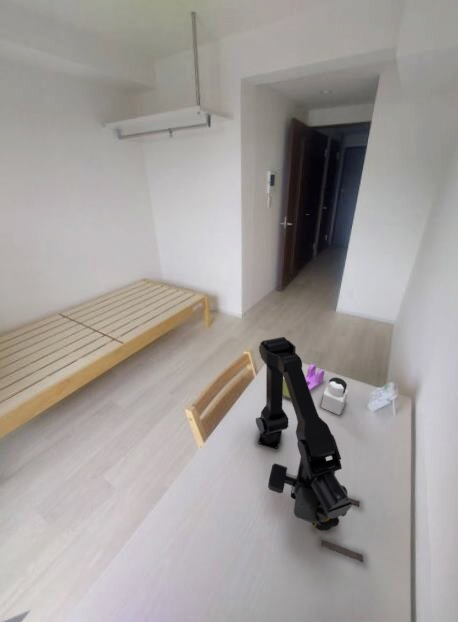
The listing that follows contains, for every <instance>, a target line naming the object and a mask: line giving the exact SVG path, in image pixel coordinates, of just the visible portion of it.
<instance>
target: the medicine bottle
mask: <svg viewBox="0 0 458 622" xmlns="http://www.w3.org/2000/svg"><path fill="white" fill-rule="evenodd" d="M347 386H348V385H347V382H346V380H344V379H342V378H340V377H331V378H330V379H329V380H328V384H327V385H326V388H325V390H324V392H323V393H322V399H321V404H320V407H321V408H322V409H324V410H327V411H329V412H331V413H333V414H335V415H338V416H340V415H341V413H342V411H343V409H344V407H345V404H346V400H347V397H348V393H349V390H348V389H347Z"/></svg>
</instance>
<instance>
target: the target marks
mask: <svg viewBox="0 0 458 622" xmlns="http://www.w3.org/2000/svg"><path fill="white" fill-rule="evenodd" d="M349 499H350V501H351V503H352V506H356V507H360V501H359V500H357V499H353V498H350V497H349ZM321 547H324V548H325V549H329V550H330V551H331V550H332V551H334V552H336V553H338V554H342V555H344V556H347V557H350V558H352V559H354V560H357V561H360V562H364V556H363V554H361V553H359V552H356V551H353V550H351V549H348V548H345V547H343V546H340V545H337V544H335V543H333V542H329V541H328V540H324V539H321Z"/></svg>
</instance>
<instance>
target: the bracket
mask: <svg viewBox="0 0 458 622" xmlns="http://www.w3.org/2000/svg"><path fill="white" fill-rule="evenodd" d="M316 370H317V366H316V365H315V364H314V363H311V364H310V365H309V366H308V368H307V373H306V376H305V379H306V382H307V385H308V387H309V390H310V392H312V391H313V390H315V388H317V387H318V386H320V385H321V384H322V383H324V379H325V378H324V377H325V370H324V369H321V368H320V369H318V370H317V371H316Z"/></svg>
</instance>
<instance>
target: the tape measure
mask: <svg viewBox="0 0 458 622" xmlns="http://www.w3.org/2000/svg"><path fill="white" fill-rule="evenodd" d="M339 523H340V519H339V517H337V518H332V519H331V518H328V517H327V515H326V519H325V521H324V522H323V521H320V525H319V524H317V523H314V522H313V523H310V524H311V525H312V526H313V527H314V528H315V529H317V530H318V531H320V532H327V531H329V530H331V528H335V527H337V526H338V525H339Z"/></svg>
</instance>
